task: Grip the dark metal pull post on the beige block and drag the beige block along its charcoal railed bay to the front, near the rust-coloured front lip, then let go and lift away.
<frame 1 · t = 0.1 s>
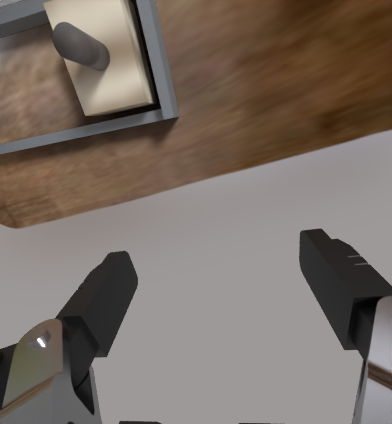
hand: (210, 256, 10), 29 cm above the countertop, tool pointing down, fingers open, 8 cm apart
beige block: (98, 56, 26), point 6 cm above the countertop, slide at 0.0 cm
bay: (50, 84, 33), on the countertop
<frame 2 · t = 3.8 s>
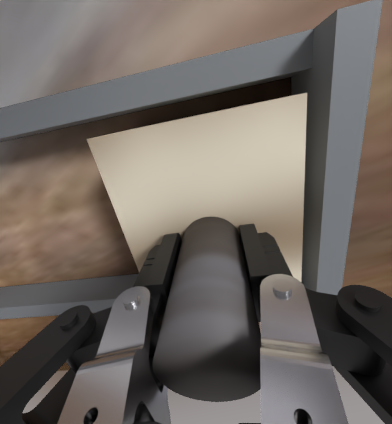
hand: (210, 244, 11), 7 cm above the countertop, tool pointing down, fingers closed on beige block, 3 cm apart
beige block: (211, 242, 11), point 6 cm above the countertop, slide at 0.0 cm, touching gripper
bay: (77, 216, 18), on the countertop
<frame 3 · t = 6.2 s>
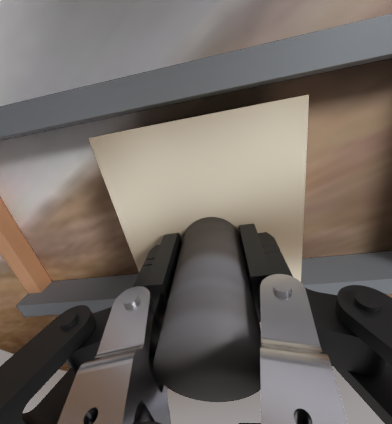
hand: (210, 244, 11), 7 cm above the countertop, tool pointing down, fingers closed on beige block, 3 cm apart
beige block: (211, 242, 11), point 6 cm above the countertop, slide at 10.3 cm, touching gripper
bay: (191, 200, 17), on the countertop
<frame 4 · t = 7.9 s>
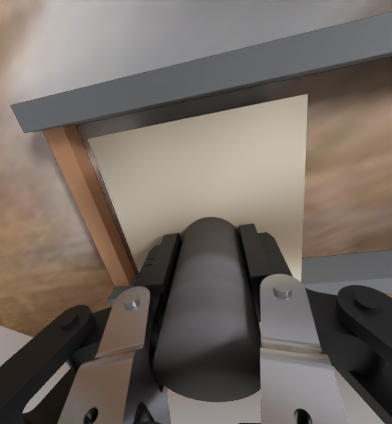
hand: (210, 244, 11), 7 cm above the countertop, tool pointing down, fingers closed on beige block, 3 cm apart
beige block: (211, 242, 11), point 6 cm above the countertop, slide at 19.7 cm, touching gripper
bay: (314, 182, 15), on the countertop
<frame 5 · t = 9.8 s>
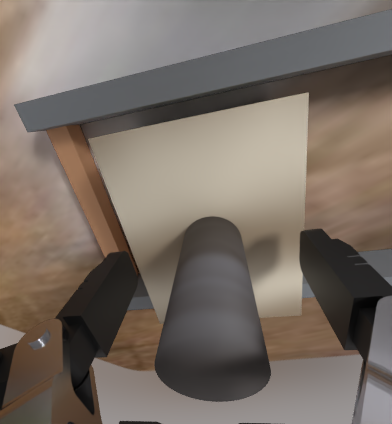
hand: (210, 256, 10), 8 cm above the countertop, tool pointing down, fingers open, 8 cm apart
beige block: (212, 242, 11), point 6 cm above the countertop, slide at 19.9 cm
bay: (319, 180, 15), on the countertop
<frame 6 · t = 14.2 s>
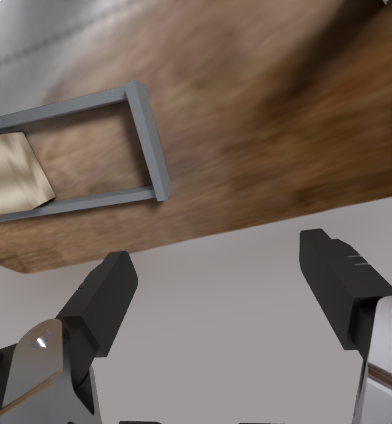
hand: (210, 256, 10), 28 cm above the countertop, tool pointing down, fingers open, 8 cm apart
bay: (58, 162, 38), on the countertop
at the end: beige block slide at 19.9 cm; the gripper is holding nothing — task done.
